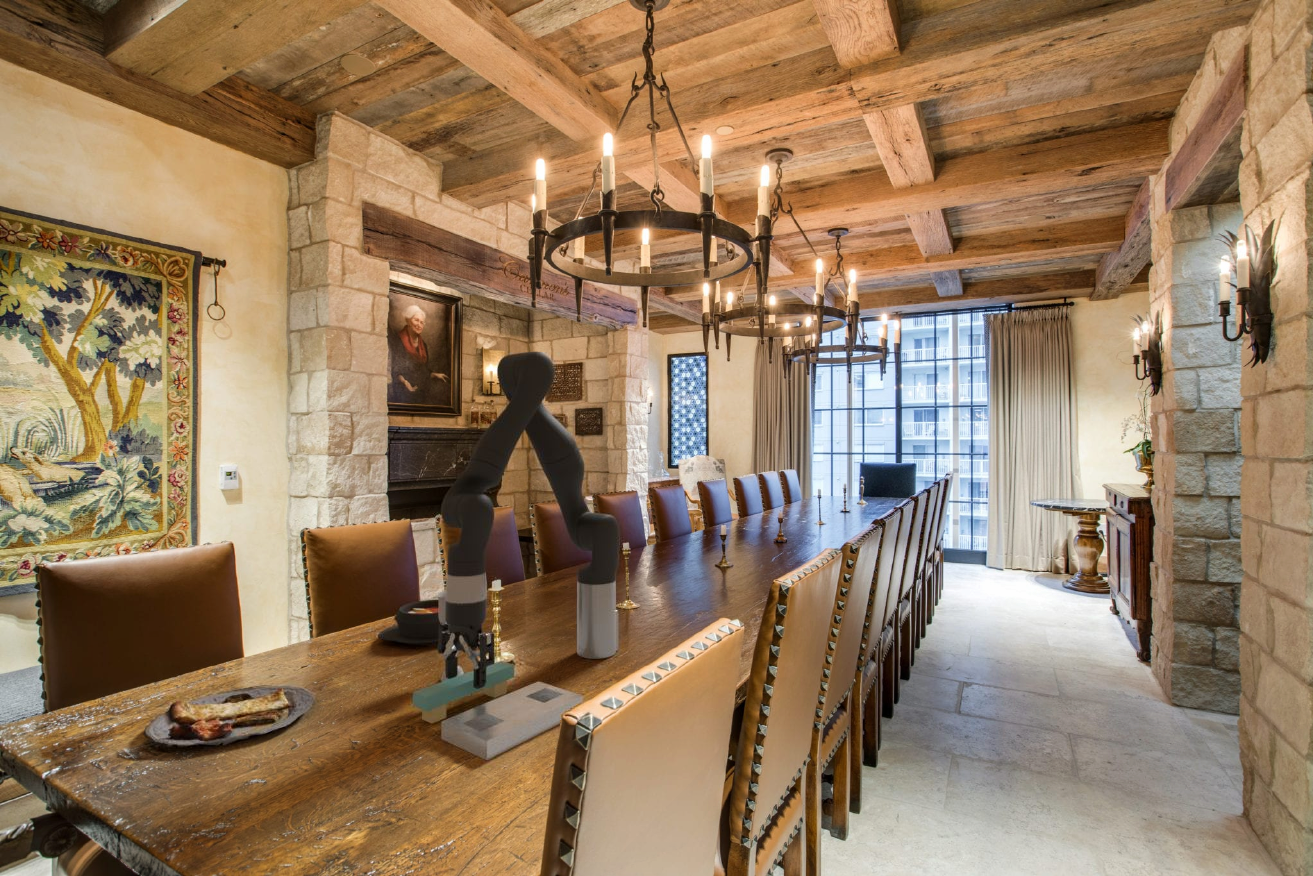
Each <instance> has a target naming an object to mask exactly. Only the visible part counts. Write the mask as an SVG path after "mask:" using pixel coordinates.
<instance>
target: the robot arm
mask: <svg viewBox="0 0 1313 876" xmlns="http://www.w3.org/2000/svg"><path fill="white" fill-rule="evenodd" d="M555 371H556V369H555V365H554V362H553V361H552V358H551V357H550V356H549V355H547V353H544V352H542V351H527V352H525V351H524V352H519V353H513V354H512V353H511V354H508V355H504V356H503V357H502V358H501V359H500V360H499V362H498V364H497V369H496V372H497V373H496V374H497V379H498V384H499V385H500V388H501V390H502V393H503V394H504V395H505V397H506V399H507V401H508V404H507V405H506V406H505V408H504V409H503V411H502V412H501V413H500V414H499V415H498V416H497V417H496V418H495V419H494V421H493V422H492V423H491V424H490V425H489V426H488V428H487V429H485V431H484V433H483V434H482V435H481V436H480V438H479V439H478V441H477V443H476V446H475V448H474V451H473V452H472V454H471V457H470V458H469V461H468V464H467V466H466V467H465V469H464V470H463V472H462V473H461V474H460V475H459V476H458V478H457V479H456V480H455V482H454V483H452V486H451V487H450V488H449V490H448V491H447V492H446V494H445V496H444V498H443V500H442V503H441V507H440V514H441V519H442V521H443V522H444V523H445V524H446V525H447V526H448V527H451V528H453V529H454V528H455V529H461V532H460V535H459V536H460V537H459V540H458V541H455V542H454V543H452V544H450V545H449V546H448V551H447V570H446V571H447V572H446V574H447V575H446V583H445V591H446V605H445V621H446V622H443V623H440V624H439V635H438V644H437V652H438V654H439V655H440V654H442V657H443V659H444V660H445V667H444V670H445V673H446V678H448V679H451V678H454V677H456V676H457V673H458V665H459V664H458V663H459V661H458V660H459V658H458V654H459V652H460V651H461V652H463V653H464V654H466V657H467V658H468V659H470V660H471V662H472V665H473V667H474V668H473V671H474V681H473V687H474V688H476V689H479V688H482V687H484V686H485V684H486V668H487V666H489V665H492V664H494V663H496V657H495V656H496V654H495V652H496V651H495V633H494V632H493V631H489V632H485V631H483V627H482V626H483V624H484V622H485V621H486V619H487V599H488V596H487V595H488V594H487V593H488V592H487V591H488V590H487V589H488V583H487V574H486V571H487V569H486V562H487V559H486V558H487V557H486V551H487V547H488V544H489V542H490V537H491V534H492V529H493V526H494V522H495V509H494V508H495V507H494V504H493V502H492V501H491V498H489V496H487V494H484V493H485V491H487V490H488V489H491V488H494V487H496V486H497V485H498V484H500V482H501V480H502V478H503V475H504V474H505V471H506V469H507V466H508V464H509V462H510V459H511V457H512V454H513V452H514V450H515V449H516V446H517V444H518V442H519V440H520V438H521V437H522V435H523V433H524V432H525V433H526V436H527V437H528V441H530V443H531V446H532V448H533V450H534V452H535V454H536V457H537V459H538V462H539V465H540V467H541V468H542V471H543V473H544V474H545V477H546V479H547V481H548V483H549V484H550V487H551V489H552V491H553V494H554V498H555V500H556V501H557V504H558V507H559V509H560V513H561V515H562V518H563V521H564V525H565V528H566V530H567V534H568V536H569V538H570V540H571V543H572V544H573V546H574V547H575V548H576V549H578V550H579V551H583V552H590V553H591V559H590V560H591V561H590V563H589V564H587V565H584V566H582V567H580V568H578V570H577V572H576V573H577V574H576V580H577V581H576V590H577V591H576V594H577V597H576V599H577V600H576V601H577V602H576V607H577V608H576V623H577V624H576V626H577V627H576V653H577V656H579V657H581V658H585V659H593V660H595V659H596V660H598V659H599V660H600V659H605V658H606V659H607V658H609V657H612V656H614V655H615V654H616V652H617V651H618V650H619V611H618V610H617V599H616V598H617V595H616V594H617V591H616V590H617V585H616V584H617V582H616V581H617V572H618V569H619V564H620V563H619V562H620V545H621V530H620V524H619V522H618V520H617V518H616V517H615V516H613V515H612V514H607V513H598V512H596V513H595V512H591V511H590V509H589V507H588V506H587V503H586V501H585V497H584V495H583V482H584V477H585V476H584V475H585V462H584V459H583V456H582V453H581V452H580V448H579V447H578V445H577V442H576V440H575V438H574V437H573V435H572V434H571V433H570V431H569V430H568V429H567V428H566V427H565V426H564V425H563V424H562V423H561V422H560V421H559V420H558V419H557V418H555V416H554V415H552V413H551V412H549V410H548V409H547V407H546V406H545V405H544V402H543V401H544V399H545V398H546V397H547V395H548V393H549V392H550V389H551V388H552V385H553V384H554V381H555V376H556V372H555ZM446 640H447V641H446ZM444 641H445V642H446V644H445V645H444V643H445V642H444ZM477 648H478V649H477ZM456 655H457V656H456ZM487 655H488V658H487ZM455 656H456V657H455ZM478 657H479V659H478ZM445 668H446V669H445Z"/></svg>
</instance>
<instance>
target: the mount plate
mask: <svg viewBox="0 0 1313 876" xmlns="http://www.w3.org/2000/svg"><path fill="white" fill-rule="evenodd" d="M582 702H583V703H584V695H582V694H579V693H575V692H573V691H570V690H567V689H564V688H561V687H558V686H554V685H552V684H548V683H545V682H543V681H537V682H536V681H535V682H534V683H531V684H529V685H526V686H524V687H522V688H520V689H516V690H514V691H512V692H509V693H506V694H503V695H501V696H498V698H497V697H496V698H494V699H492V700H490V701H488V702H485V703H482V704H480V705H478V706H475V707H473V708H471V709H468V710H466V711H464V712H460V713H459V714H455V715H453V716H451V717H449V718H447V719H446V718H445V719H442V721H441V720H440V721H441V726H440V727H441V728H440V729H441V731H440V732H441V737H440V738H441V740H442V741H444V742H446V743H449V744H452V745H453V746H455V747H458V748H460V749H462V750H464V751H465V752H468V753H470V754H471V755H475V756H477V757H479V758H481V759H483V760H486V761H488V760H491V759H493V758H495V757H497V756H499V755H500V754H503V753H505V752H506V751H509V750H510V749H512V748H515V747H517V746H519V745H521V744H523V743H525V742H527V741H529V740H531V739H533V738H535V737H536V736H539V735H541V734H542V733H544V732H547V731H549V730H550V729H552V728H554V727H556V726H558V725H561V723H560V720H561V715H562V714H563V713H564V712H565V711H568V710H570V708H573V707H574V706H576V705H578V704H579V703H582Z"/></svg>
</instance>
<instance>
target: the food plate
mask: <svg viewBox="0 0 1313 876" xmlns="http://www.w3.org/2000/svg"><path fill="white" fill-rule="evenodd" d="M314 695H315V693H314V692H313V691H309V690H308V689H306V688H303V687H300V686H295V685H273V684H272V685H270V684H269V685H262V686H261V685H255V686H247V687H244V688H238V689H234V690H233V689H232V690H228V691H222V692H220V693H214V694H210V695H206V696H204V697H200V698H196V699H193V700H191V701H187V702H185V701H184V700H183V701H181V700H178V701H176V702H172V703H171V704H170V707H169V708H168V709H167V711H165V712H164V713H160V715H157V716H156V717H155V718H154V719H153V720H151V721H150V722H149V723H148V724H147V725H146V726H145V728H144V730H143V736H144V737H146V738H147V739H148V740H150V741H151V742H152V744H157V745H161V748H163V747H164V744H165V746H166V747H171V746H173V745H177V747H178V748H184V747H188V746H193V745H194V746H198V745H204V746H205V745H207V746H208V745H209V746H219V745H221V744H222V746H226V745H228V744H231V743H233V742H235V741H237V740H244V739H248V738H249V737H250V736H256V735H263V734H267V733H269V732H271V731H276V730H279V729H280V728H283V727H287V726H288V725H290V724H292V723H293V722H294V721H296V720H297V718H299V717H300V716H302V715H303V714H305V713H306V712H308V711H309V709H310V708H311V707H312V706H313V705H314V700H315V696H314ZM285 710H288V711H287V716H286V717H285V718H283V717H284V714H283V713H284V712H285ZM279 720H280V721H279ZM269 724H273V725H271V726H268V727H266V728H262V729H259V730H258V729H255V728H257V727H259V726H260V725H261V726H263V725H269ZM254 729H255V730H254ZM248 732H249V733H248ZM243 733H247V734H243Z"/></svg>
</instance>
